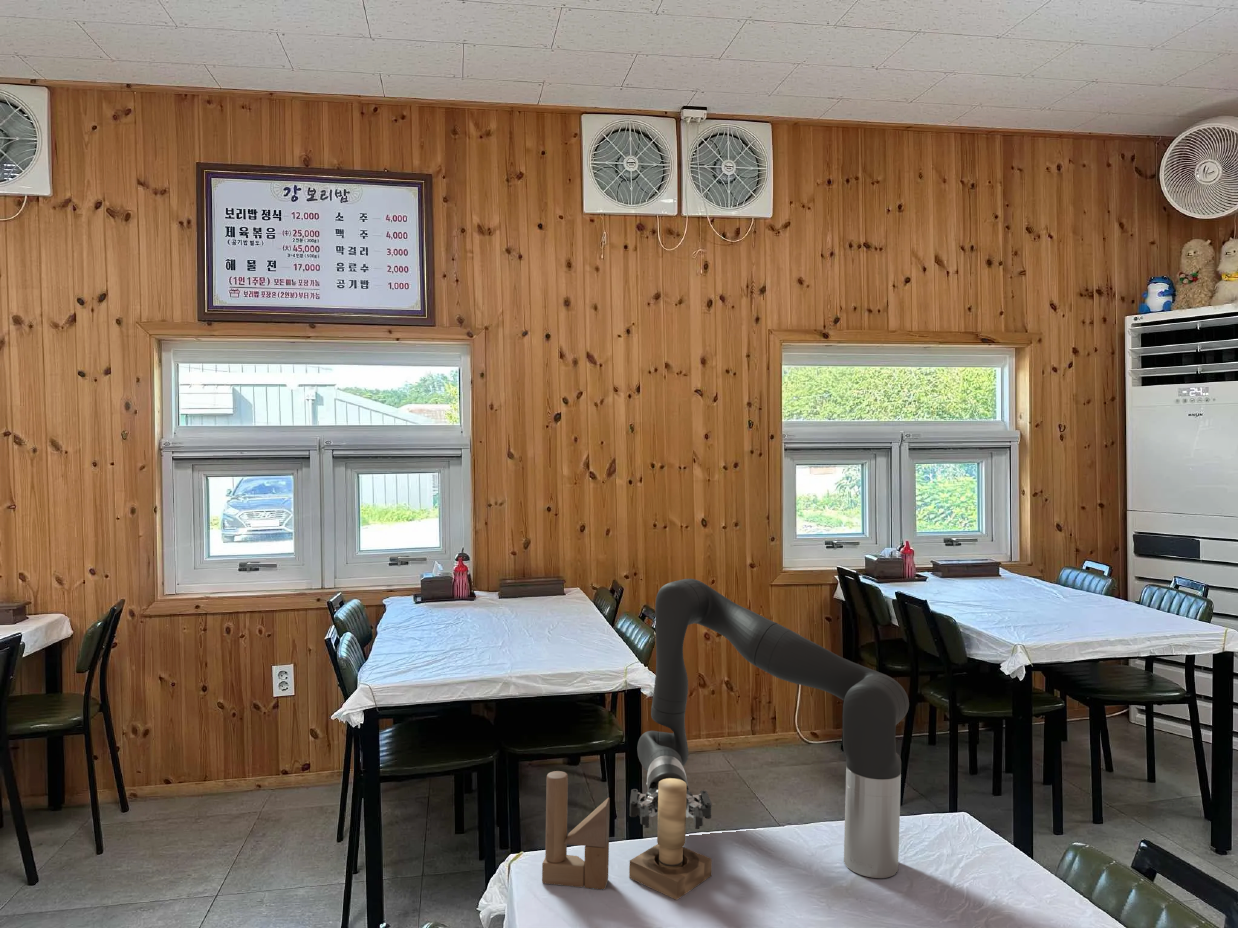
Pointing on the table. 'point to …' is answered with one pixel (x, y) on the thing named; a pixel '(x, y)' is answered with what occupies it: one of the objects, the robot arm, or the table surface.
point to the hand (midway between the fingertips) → (672, 822)
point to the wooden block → (574, 840)
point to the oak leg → (671, 822)
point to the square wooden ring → (670, 872)
